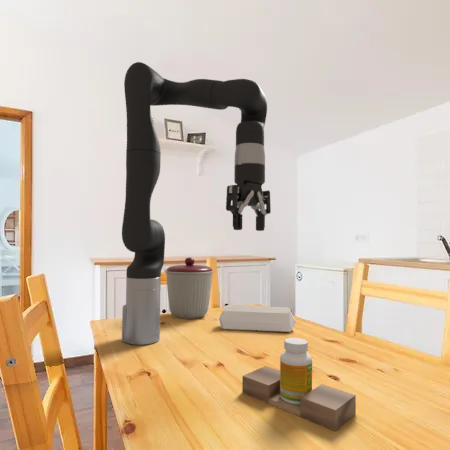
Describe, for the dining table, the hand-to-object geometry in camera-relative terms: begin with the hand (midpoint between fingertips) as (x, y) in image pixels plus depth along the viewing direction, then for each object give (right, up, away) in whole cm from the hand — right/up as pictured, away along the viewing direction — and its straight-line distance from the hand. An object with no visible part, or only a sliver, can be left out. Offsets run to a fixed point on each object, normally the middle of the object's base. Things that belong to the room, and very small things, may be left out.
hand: (249, 230), depth 85 cm
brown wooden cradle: (+6, -29, -25) cm, 39 cm away
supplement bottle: (+6, -29, -26) cm, 39 cm away
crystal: (+4, -32, +24) cm, 40 cm away
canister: (-19, -32, +40) cm, 55 cm away
